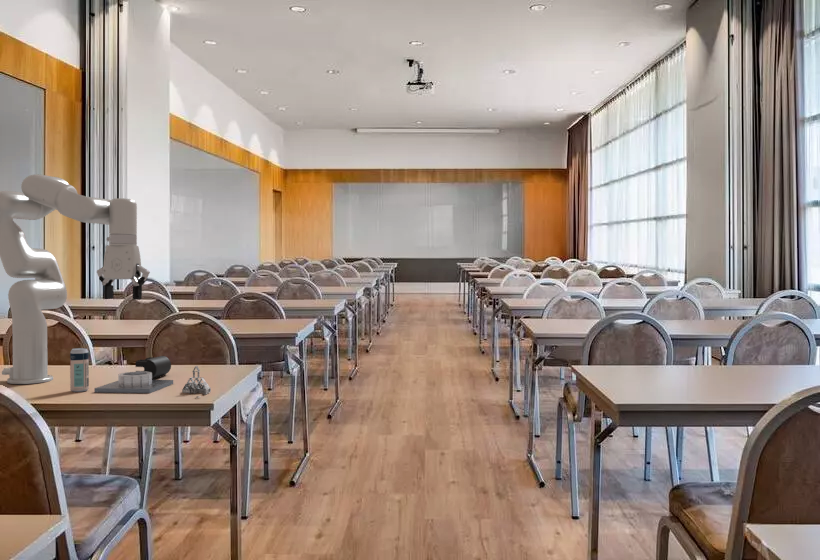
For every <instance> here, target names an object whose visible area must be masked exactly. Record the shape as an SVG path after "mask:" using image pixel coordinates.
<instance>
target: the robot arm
mask: <svg viewBox="0 0 820 560" xmlns="http://www.w3.org/2000/svg"><path fill="white" fill-rule="evenodd" d="M20 186H21V187H20V189H21V191H13V190H0V261H1V263H2V267H3V269H4V271H5V273H6V274H7V276H8V277H10V278H15V279H23V280H19V281H16V282H14V283H13V284H12V285H11V286H10V288H9V290H8V294H7V297H8V302H9V303H8V304H9V307H10V312H11V323H12V326H11V327H12V331H11V332H12V366H11V367H8V368H3V370H1V375H3V376H6V375H8V376H9V378H7V380H6V381H7V384H11V385H32V384H39V383H40V384H41V383H46V382H51V381H54V376H53V375H52V374H49V373H48V371H49V370H48V323H47V319H46V317H45V315H44V313H43V312H42V310H43V311H44V310H53V309H58V308H61V307H63V306H64V305H65V304H66V302H67V299H68V291H67V286H66V284H65V280H64V278H63V275H62V272H61V269H60V266H59V263H58V261H57V259H56V257H55V256H54V254H52V253H51V251H49V250H48V249H44V248H33V247H30V245H29V242H28V240H27V237H26V235H25V233H24V231H23V230H22V228H21V227H20V226H19V225H18V224H17V223H16V222H15V221H14V219H16V220H26V221H27V220H29V221H37V220H40V219H43V218H44V217H46V216H48V215H49V214H51V213H53V212H54V211H56V210H57V211H58V213H60V215H61V216H65V217H67V218H68V219H69V218H70V219H71V220H75V221H77V222H81V223H86V224H97V225H98V224H99V225H108V236H107V237H106V242H108V245H106V247H105V250H104V258H103V266H102V267H100V268H99V269H97V270H96V275H97V276H98V279H99V281H100V282H101V285H102V286H103V291H104V292H103V293H104V294H103V297H104V298H103V299H104V300H112V299H114V285H112V284H113V283H114V282H115V280H130V281H131V282H132V283H133V285H132V300H133V301H135V300H136V301H138V300H139V301H140V300H142V296H143V292H142V291H143V286H144V285H145V283H147V281H148V277H149V275H150V273H151V272H150V270H148V269H147V268H145V267H143V266H142V261H141V253H140V252H141V251H140V248H139V246H138V245H137V244H138V242H137V241H138V237H137V236H138V235H137V234H138V233H137V231H138V230H137V229H138V225H137V223H138V220H137V219H138V216H137V215H138V205H137V202H136V200H134V199H130V198H119V197H118V198H112V199H108V198H107V199H106V198H99V197H92V196H85V195H82V194H79V193H78V190H77V189H76V187H74V186H73V185H71V184H69V183H68V181H67V180H65V179H63V178H61V177H59V176H58V177H57V176H51V175H47V174H46V175H45V174H37V173H36V174H30V175H28V176H26V177H25V178H24V179H22V182H21V184H20Z"/></svg>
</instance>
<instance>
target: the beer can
mask: <svg viewBox="0 0 820 560" xmlns="http://www.w3.org/2000/svg"><path fill="white" fill-rule="evenodd" d="M89 353H90V352H89V349H87V348H85V347H84V348H83V347H78V348H72V349H71V350H70V353H69V359H70V360H69V367H70V369H69V370H70V371H69V372H70V375H69V376H70V384H69V385H70V389H69V390H70V391H71V392H73V393H83V392H86V391H88V390H89V389H90V383H89V382H90V381H89V380H90V379H89V378H90V374H89V372H90V367H89V365H90V364H89V363H90V361H89V360H90V359H89Z"/></svg>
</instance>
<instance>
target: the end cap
mask: <svg viewBox="0 0 820 560" xmlns="http://www.w3.org/2000/svg"><path fill="white" fill-rule="evenodd" d="M135 368H143V371H146V372H151V373H152V379H153V380H156V379H158V378H161V377H163V375H164V376H166V375H167V374H168V373H169V372H170V371H171V368H172V363H171V360H170V359H169V358H168V357H167V356H165V355H160V356H156V357H151V356H150V357H146V358H145V359H138V360H136V361H135ZM137 371H138V370H135V372H137ZM160 376H161V377H160Z"/></svg>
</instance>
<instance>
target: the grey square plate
mask: <svg viewBox="0 0 820 560" xmlns="http://www.w3.org/2000/svg"><path fill="white" fill-rule="evenodd" d="M136 371H137V372H136ZM136 371H126V372H121V373H118V377H117V378H118V379H117V380H116V381H113V382H110V383H106V384H104V385H100V386H98V387H97V386H96V387H94V391H93V392H94V393H98V394H99V393H106V394H107V393H108V394H109V393H110V394H111V393H113V394H115V393H116V394H151V393H154V392H157V391H159V390H162V389H164V388H168V387H169V386H172V385H174V380H173V379H153V380H152V373H151V372H146V371H144V370H136ZM171 384H172V385H171Z"/></svg>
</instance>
